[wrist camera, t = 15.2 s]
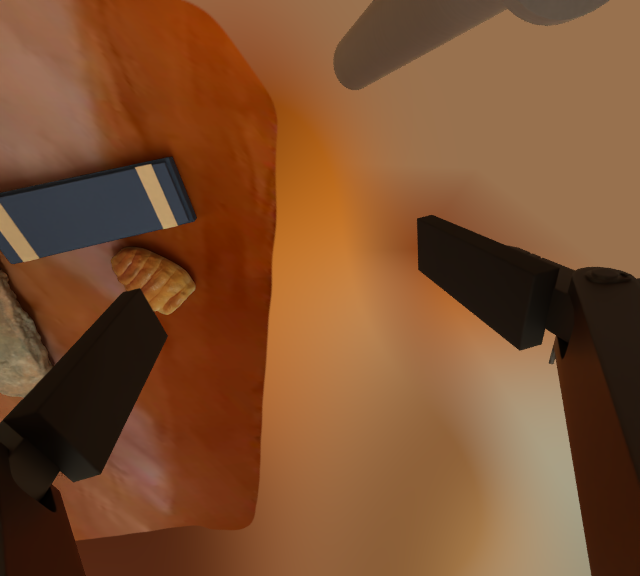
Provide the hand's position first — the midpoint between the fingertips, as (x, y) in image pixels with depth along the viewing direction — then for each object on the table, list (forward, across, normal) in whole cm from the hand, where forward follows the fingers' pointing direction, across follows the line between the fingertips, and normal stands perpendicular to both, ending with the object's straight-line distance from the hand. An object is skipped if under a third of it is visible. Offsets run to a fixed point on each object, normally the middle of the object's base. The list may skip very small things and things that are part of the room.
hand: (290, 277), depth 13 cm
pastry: (+25, -17, -7) cm, 31 cm away
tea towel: (+24, -20, +3) cm, 32 cm away
